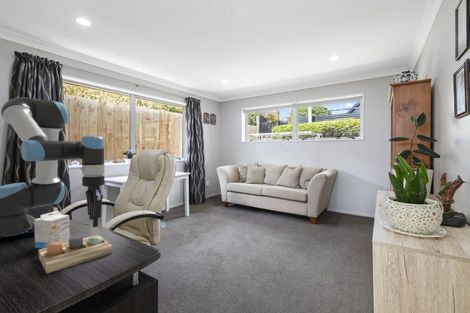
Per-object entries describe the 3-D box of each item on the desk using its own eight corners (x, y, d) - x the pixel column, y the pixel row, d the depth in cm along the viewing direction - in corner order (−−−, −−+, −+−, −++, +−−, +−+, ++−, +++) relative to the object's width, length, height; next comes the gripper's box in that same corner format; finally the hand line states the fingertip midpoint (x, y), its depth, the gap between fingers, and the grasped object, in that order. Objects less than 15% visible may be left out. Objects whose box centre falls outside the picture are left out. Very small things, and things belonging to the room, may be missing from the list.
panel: (38, 257, 86) (38, 249, 86) (98, 241, 101) (98, 234, 101) (46, 273, 75) (46, 264, 75) (112, 252, 90) (112, 245, 90)
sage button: (87, 245, 93) (87, 238, 92) (99, 242, 96) (99, 234, 96) (90, 249, 90) (90, 241, 90) (103, 245, 93) (103, 237, 93)
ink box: (51, 249, 93) (50, 216, 92) (34, 247, 95) (33, 215, 94) (70, 241, 101) (69, 210, 101) (54, 239, 103) (53, 209, 103)
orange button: (45, 252, 83) (45, 244, 83) (60, 248, 86) (60, 240, 86) (48, 256, 80) (47, 247, 80) (63, 252, 83) (63, 243, 83)
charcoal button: (67, 247, 88) (67, 238, 88) (81, 243, 91) (81, 235, 91) (70, 250, 85) (70, 242, 85) (84, 246, 88) (84, 238, 88)
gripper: (77, 174, 93) (79, 232, 94) (87, 178, 84) (89, 241, 86) (98, 173, 99) (99, 227, 100) (109, 176, 90) (110, 235, 91)
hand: (94, 234), depth 93 cm, fingers closed
